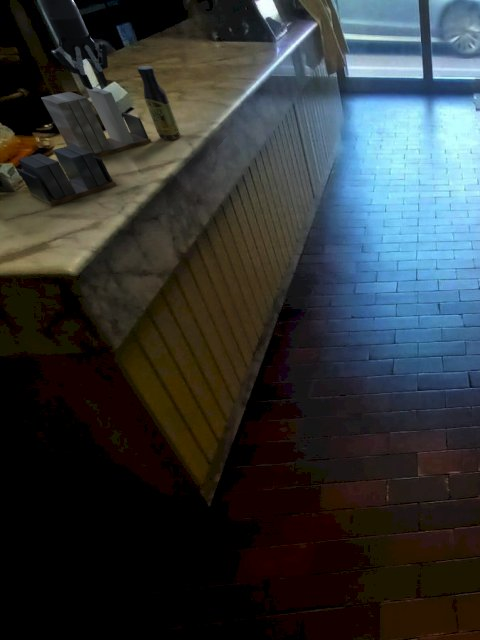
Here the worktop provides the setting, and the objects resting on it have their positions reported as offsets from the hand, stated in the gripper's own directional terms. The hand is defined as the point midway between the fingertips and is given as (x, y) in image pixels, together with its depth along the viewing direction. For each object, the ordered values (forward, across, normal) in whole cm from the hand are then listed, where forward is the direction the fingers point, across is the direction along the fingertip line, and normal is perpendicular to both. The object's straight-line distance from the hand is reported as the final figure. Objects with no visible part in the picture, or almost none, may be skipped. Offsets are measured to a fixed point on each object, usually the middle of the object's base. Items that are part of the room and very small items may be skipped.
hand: (97, 87), depth 148 cm
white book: (+15, 0, 0) cm, 15 cm away
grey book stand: (+16, +4, 0) cm, 16 cm away
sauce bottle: (+16, -12, +6) cm, 21 cm away
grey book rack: (+16, +26, +23) cm, 38 cm away
